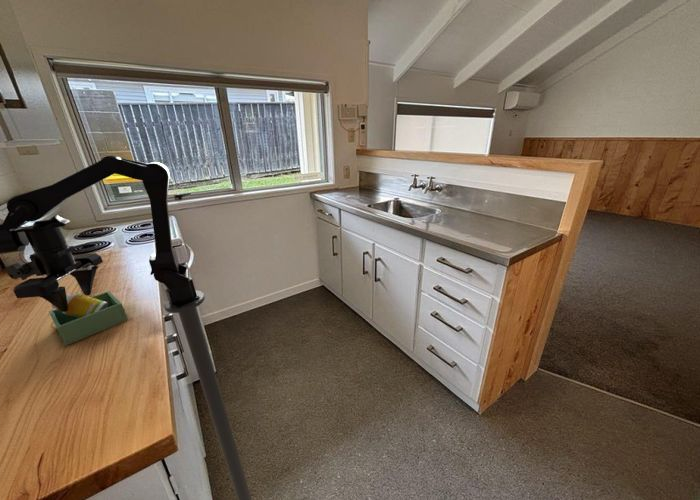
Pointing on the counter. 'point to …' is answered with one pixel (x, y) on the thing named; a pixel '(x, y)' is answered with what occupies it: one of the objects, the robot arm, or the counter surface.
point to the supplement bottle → (83, 305)
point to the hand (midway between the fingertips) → (77, 302)
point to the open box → (89, 320)
